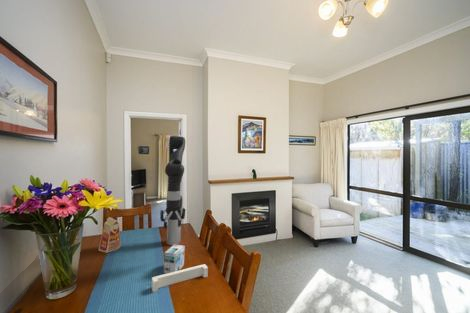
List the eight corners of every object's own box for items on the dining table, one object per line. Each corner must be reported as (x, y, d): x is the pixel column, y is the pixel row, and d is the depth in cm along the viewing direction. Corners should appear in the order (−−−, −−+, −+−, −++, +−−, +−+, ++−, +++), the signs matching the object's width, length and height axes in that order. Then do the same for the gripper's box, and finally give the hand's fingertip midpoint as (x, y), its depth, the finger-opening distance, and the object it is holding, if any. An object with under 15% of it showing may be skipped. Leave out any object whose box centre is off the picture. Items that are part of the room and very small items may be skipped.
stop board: (151, 287, 90) (152, 277, 90) (204, 272, 103) (204, 263, 104) (152, 292, 87) (153, 282, 87) (207, 276, 100) (208, 267, 100)
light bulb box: (175, 275, 100) (175, 253, 100) (163, 273, 102) (164, 252, 102) (184, 264, 111) (185, 245, 111) (173, 263, 112) (174, 243, 112)
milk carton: (98, 250, 124) (100, 218, 124) (112, 244, 132) (113, 214, 133) (108, 253, 121) (109, 220, 121) (121, 247, 129) (123, 216, 130)
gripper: (183, 196, 121) (182, 223, 120) (159, 198, 113) (158, 227, 113) (187, 198, 114) (186, 227, 114) (162, 200, 107) (160, 231, 107)
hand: (172, 227), depth 114 cm, fingers open, 7 cm apart
